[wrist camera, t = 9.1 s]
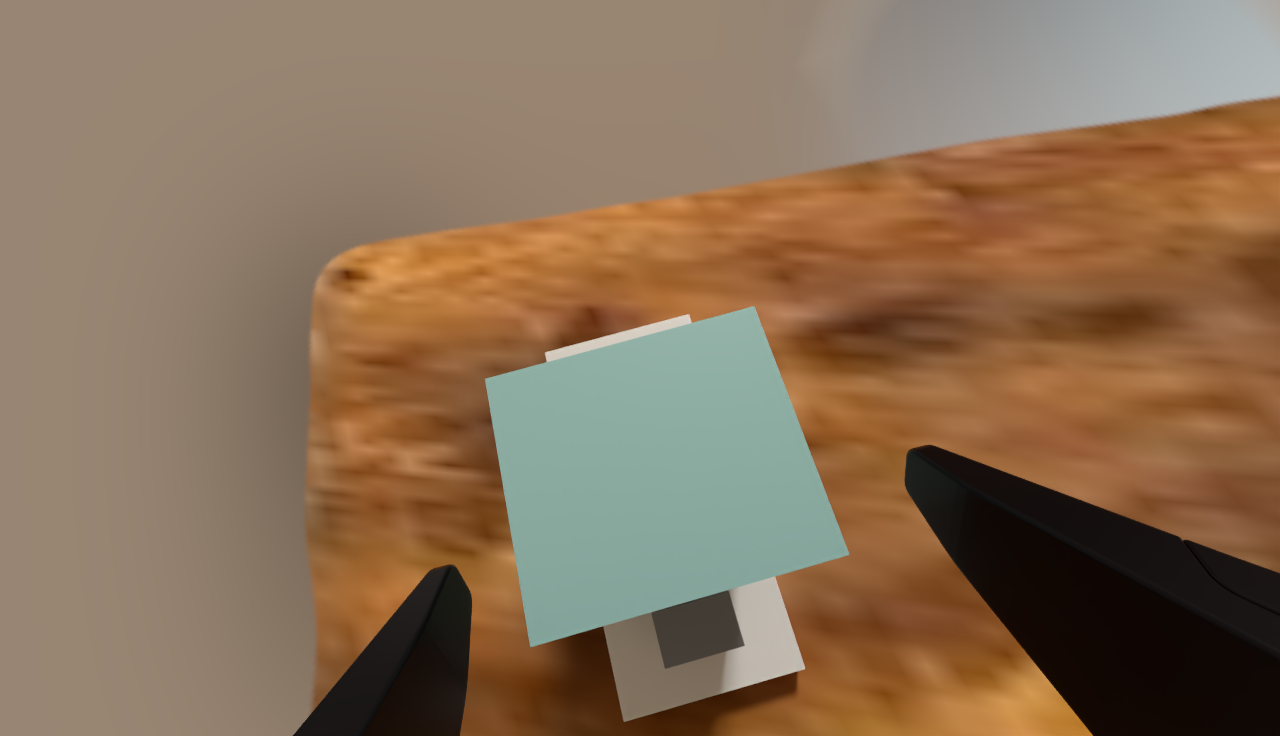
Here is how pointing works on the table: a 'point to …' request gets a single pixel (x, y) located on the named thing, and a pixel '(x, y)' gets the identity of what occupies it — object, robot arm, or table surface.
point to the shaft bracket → (695, 625)
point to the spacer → (655, 475)
